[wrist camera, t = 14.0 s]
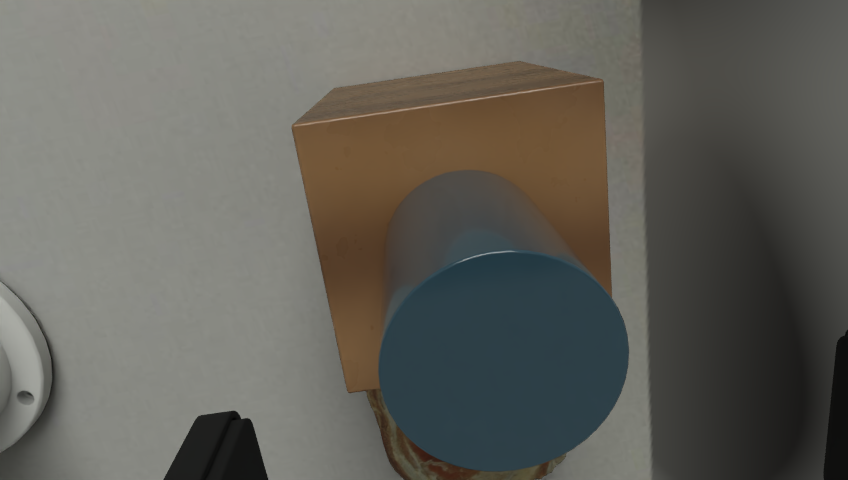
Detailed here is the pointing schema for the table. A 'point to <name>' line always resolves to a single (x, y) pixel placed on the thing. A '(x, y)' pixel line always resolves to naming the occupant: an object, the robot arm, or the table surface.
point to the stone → (426, 472)
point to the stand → (441, 153)
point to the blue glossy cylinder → (493, 328)
